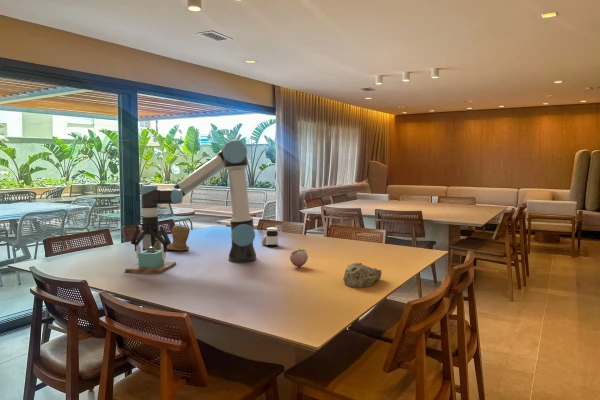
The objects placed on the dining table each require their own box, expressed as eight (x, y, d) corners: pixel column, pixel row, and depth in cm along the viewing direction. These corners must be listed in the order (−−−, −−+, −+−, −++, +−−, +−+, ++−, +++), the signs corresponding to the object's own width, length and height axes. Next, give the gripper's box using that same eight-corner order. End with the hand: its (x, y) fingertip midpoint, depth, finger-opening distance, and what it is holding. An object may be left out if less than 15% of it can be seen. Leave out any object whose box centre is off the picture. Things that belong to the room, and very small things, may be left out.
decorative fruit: (299, 264, 221) (299, 245, 220) (310, 267, 216) (310, 247, 215) (286, 267, 215) (286, 248, 214) (297, 270, 209) (297, 250, 208)
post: (157, 267, 214) (156, 246, 213) (153, 269, 210) (152, 247, 209) (149, 267, 215) (149, 245, 214) (145, 269, 211) (145, 247, 210)
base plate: (176, 264, 220) (176, 261, 220) (160, 273, 202) (160, 270, 202) (143, 263, 223) (143, 260, 222) (125, 272, 205) (125, 269, 205)
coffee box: (153, 262, 225) (152, 232, 224) (142, 261, 227) (141, 232, 225) (162, 258, 234) (161, 230, 233) (151, 258, 235) (150, 229, 234)
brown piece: (194, 249, 261) (193, 225, 260) (181, 252, 250) (180, 227, 249) (174, 247, 267) (174, 223, 266) (161, 250, 256) (160, 226, 255)
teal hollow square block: (164, 263, 216) (163, 250, 216) (155, 267, 207) (155, 253, 207) (147, 263, 217) (147, 249, 217) (138, 267, 209) (138, 253, 208)
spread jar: (277, 247, 267) (277, 229, 266) (259, 247, 267) (259, 229, 266) (278, 244, 279) (278, 226, 278) (261, 243, 279) (261, 226, 278)
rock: (352, 276, 201) (358, 257, 200) (380, 288, 195) (387, 267, 194) (336, 282, 183) (342, 260, 182) (366, 295, 176) (373, 272, 175)
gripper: (177, 215, 212) (177, 257, 214) (130, 214, 216) (131, 255, 217) (170, 217, 205) (171, 260, 207) (122, 216, 208) (124, 259, 210)
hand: (151, 258), depth 212 cm, fingers open, 13 cm apart
